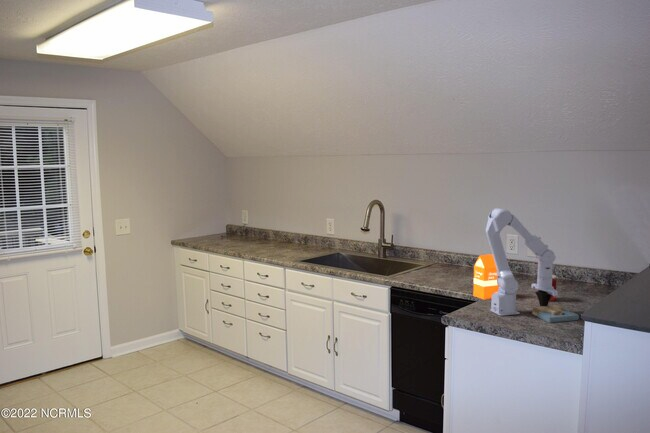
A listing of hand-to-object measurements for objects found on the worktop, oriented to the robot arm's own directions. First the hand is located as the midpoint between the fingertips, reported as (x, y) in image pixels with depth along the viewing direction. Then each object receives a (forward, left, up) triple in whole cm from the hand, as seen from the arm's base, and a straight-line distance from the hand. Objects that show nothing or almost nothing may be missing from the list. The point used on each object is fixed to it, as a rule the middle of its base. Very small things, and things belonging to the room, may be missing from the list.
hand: (543, 308), depth 224 cm
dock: (0, -9, -2) cm, 9 cm away
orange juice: (-9, +30, -2) cm, 31 cm away
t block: (0, -5, -2) cm, 5 cm away
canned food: (+15, +18, -2) cm, 23 cm away
